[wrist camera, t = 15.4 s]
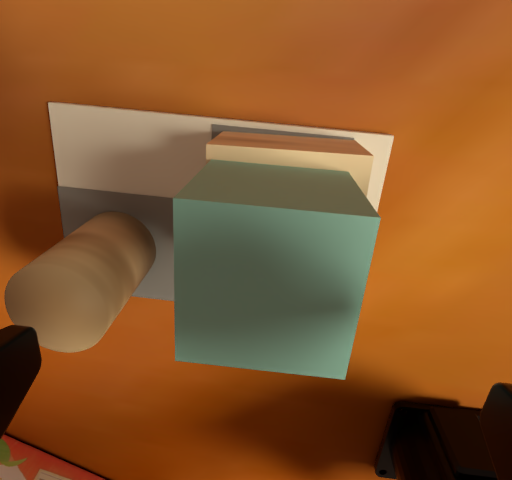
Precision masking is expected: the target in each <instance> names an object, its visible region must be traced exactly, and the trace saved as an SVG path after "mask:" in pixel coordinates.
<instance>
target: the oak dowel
mask: <svg viewBox="0 0 512 480" xmlns="http://www.w3.org/2000/svg"><path fill="white" fill-rule="evenodd" d="M155 257H156V246H155V242H154V239H153V237H152V235H151V233H150V232H149V230H148V229H147V228H146V226H145V225H144V224H143V223H141V222H140V221H139V220H138V219H136V218H134V217H133V216H130V215H128V214H125V213H122V212H114V211H111V212H104V213H101V214H98V215H96V216H94V217H93V218H92V219H90V220H89V221H87V222H86V223H85V224H83V225H82V226H81V227H79V228H78V229H76V230H75V231H74V232H72V233H71V234H69V235H68V236H67V237H65V238H64V239H62V240H61V241H60V242H58V243H57V244H55V245H54V246H53V247H51V248H50V249H49V250H47V251H46V252H44V253H43V254H42V255H40V256H39V257H37V258H36V259H35V260H33V261H32V262H30V263H29V264H28V265H26V266H25V267H23V268H22V269H21V270H19V271H18V272H17V273H15V274H14V275H13V276H12V277H11V279H10V280H9V282H8V284H7V286H6V290H5V305H6V309H7V312H8V314H9V316H10V318H11V320H12V322H13V323H14V324H15V325H21V326H30V327H33V328H34V329H35V330H36V332H37V336H38V342H39V345H40V346H42V347H45V348H48V349H51V350H54V351H59V352H79V351H83V350H86V349H88V348H90V347H92V346H94V345H95V344H96V343H97V342H99V340H100V339H101V338H102V337H103V335H104V334H105V332H106V331H107V330H108V328H109V327H110V325H111V324H112V322H113V321H114V320H115V318H116V317H117V315H118V314H119V313H120V311H121V310H122V308H123V307H124V305H125V304H126V303H127V301H128V300H129V298H130V297H131V296H132V294H133V293H134V291H135V290H136V288H137V287H138V286H139V284H140V283H141V281H142V280H143V279H144V277H145V276H146V274H147V273H148V271H149V270H150V269H151V267H152V265H153V264H154V261H155Z"/></svg>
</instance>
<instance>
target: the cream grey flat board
mask: <svg viewBox="0 0 512 480" xmlns="http://www.w3.org/2000/svg"><path fill="white" fill-rule="evenodd" d="M48 108H49V115H50V123H51V131H52V139H53V147H54V155H55V162H56V170H57V178H58V186H57V187H58V195H59V203H60V211H61V219H62V226H63V234H64V238H65V237H67V236H68V235H69V234H71V233H72V232H74V231H75V230H76V229H78V228H79V227H81V226H82V225H83V224H85V223H86V222H87V221H89V220H90V219H92V218H93V217H94V216H96V215H98V214H101V213H104V212H111V211H114V212H122V213H125V214H128V215H130V216H133V217H134V218H136V219H138V220H139V221H140V222H141V223H143V224H144V225H145V226H146V228H147V229H148V230H149V232H150V233H151V235H152V237H153V239H154V242H155V246H156V257H155V261H154V264H153V265H152V267H151V269H150V270H149V271H148V273H147V274H146V276H145V277H144V279H143V280H142V281H141V283H140V284H139V286H138V287H137V288H136V290H135V291H134V293H133V294H132V296H135V297H144V298H152V299H161V300H170V301H174V236H173V197H174V196H175V195H176V194H177V193H178V192H179V191H180V190H181V189H182V188H183V187H184V186H185V185H186V184H187V183H188V182H189V181H190V180H191V179H192V178H193V177H194V176H195V175H196V174H197V173H198V172H199V171H200V170H201V169H202V168H203V167H204V166H205V165H206V144H207V143H208V142H210V141H211V140H212V139H214V138H215V137H216V136H218V135H219V134H220V133H221V132H223V131H229V132H244V133H259V134H273V135H288V136H303V137H317V138H332V139H347V140H355V141H357V142H358V143H359V144H360V145H361V146H363V147H364V148H365V149H366V150H367V151H369V152H370V153H371V154H372V155H373V156H374V159H373V164H372V170H371V175H370V181H369V186H368V192H367V197H366V198H367V199H368V200H369V202H370V203H371V205H372V206H373V208H374V209H375V210H376V212H377V210H378V205H379V201H380V196H381V192H382V187H383V183H384V179H385V174H386V170H387V165H388V161H389V156H390V152H391V148H392V143H393V139H394V136H393V135H391V134H382V133H372V132H361V131H351V130H341V129H331V128H320V127H310V126H300V125H289V124H279V123H269V122H258V121H248V120H238V119H228V118H217V117H207V116H197V115H186V114H176V113H166V112H155V111H145V110H135V109H125V108H114V107H104V106H94V105H83V104H73V103H63V102H48Z"/></svg>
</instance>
